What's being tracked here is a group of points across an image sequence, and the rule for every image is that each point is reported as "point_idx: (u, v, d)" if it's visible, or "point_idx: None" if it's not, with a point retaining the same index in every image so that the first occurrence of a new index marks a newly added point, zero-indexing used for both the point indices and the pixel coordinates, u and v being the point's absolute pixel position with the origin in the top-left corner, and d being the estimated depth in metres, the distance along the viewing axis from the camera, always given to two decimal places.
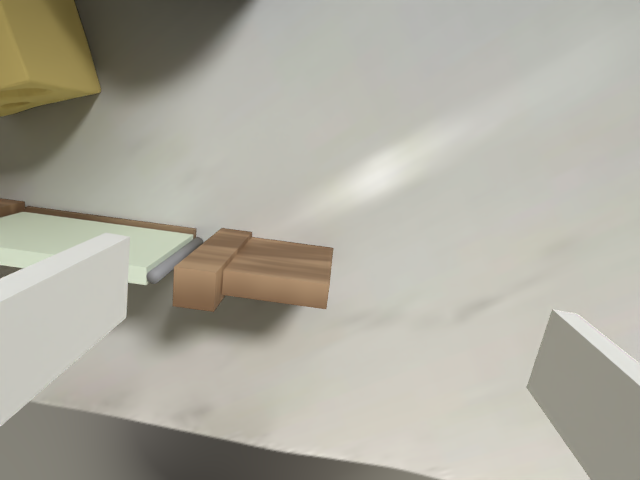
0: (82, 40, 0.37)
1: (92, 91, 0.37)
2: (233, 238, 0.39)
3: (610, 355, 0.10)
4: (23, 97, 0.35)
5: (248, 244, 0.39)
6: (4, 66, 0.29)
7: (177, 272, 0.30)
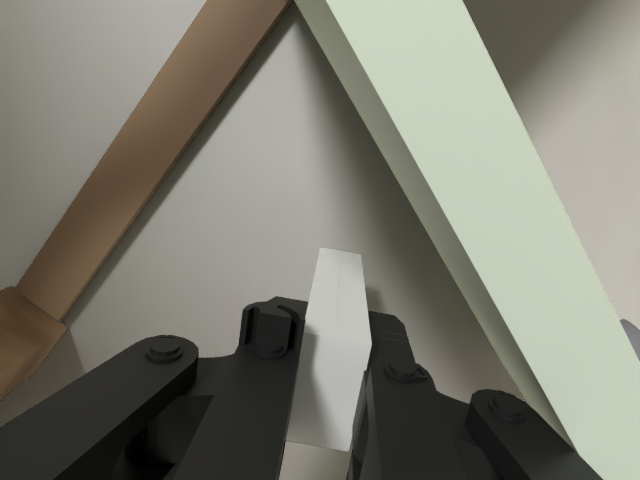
0: None
1: None
2: None
3: (343, 276, 0.13)
4: None
5: None
6: None
7: None
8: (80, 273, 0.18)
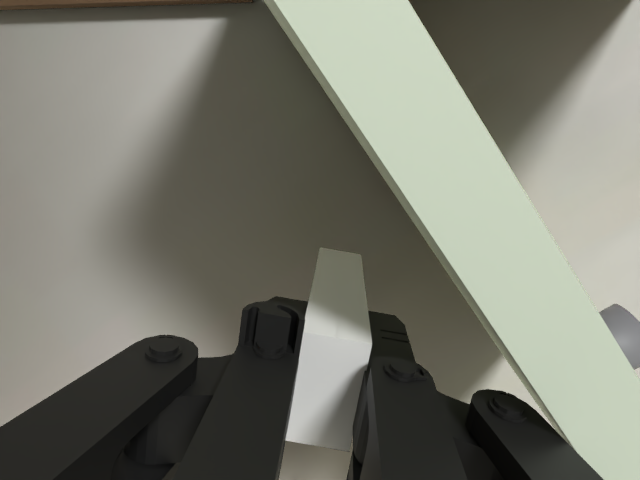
0: None
1: None
2: None
3: (344, 276, 0.13)
4: None
5: None
6: None
7: None
8: None
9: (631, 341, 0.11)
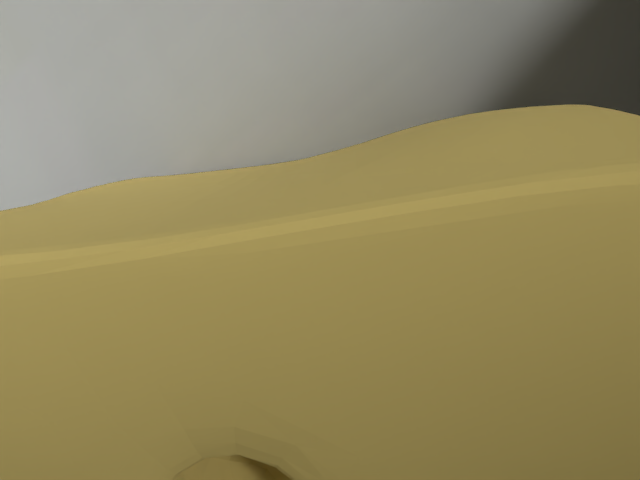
0: None
1: None
2: None
3: None
4: None
5: None
6: None
7: None
8: None
9: None
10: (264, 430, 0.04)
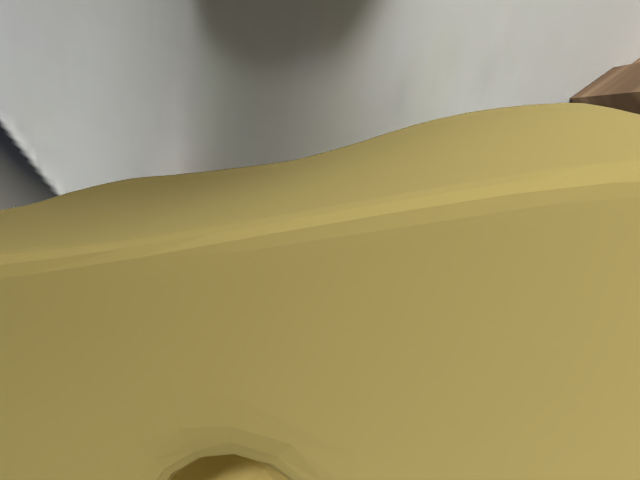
0: None
1: None
2: (628, 73, 0.24)
3: None
4: None
5: None
6: None
7: None
8: None
9: None
10: (259, 429, 0.04)
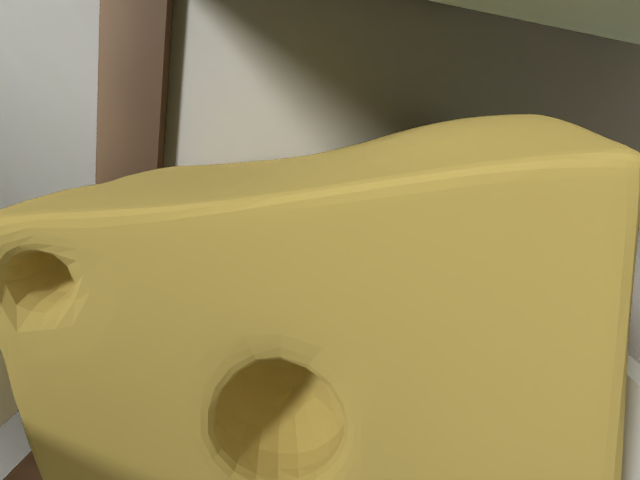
0: None
1: None
2: None
3: None
4: None
5: None
6: None
7: None
8: None
9: None
10: (302, 336, 0.06)
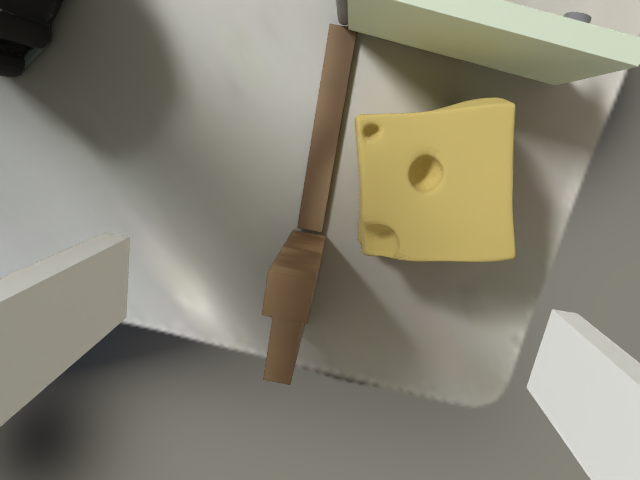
0: None
1: None
2: None
3: (610, 355, 0.10)
4: None
5: None
6: (496, 241, 0.28)
7: None
8: (322, 203, 0.37)
9: (575, 20, 0.27)
10: (435, 147, 0.27)
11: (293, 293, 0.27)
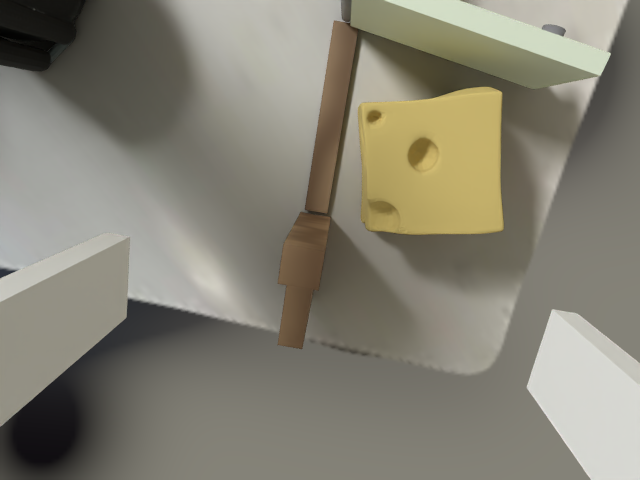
0: None
1: None
2: None
3: (610, 355, 0.10)
4: None
5: None
6: (486, 216, 0.31)
7: None
8: (327, 186, 0.41)
9: (551, 31, 0.31)
10: (431, 131, 0.30)
11: (306, 263, 0.30)
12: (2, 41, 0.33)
